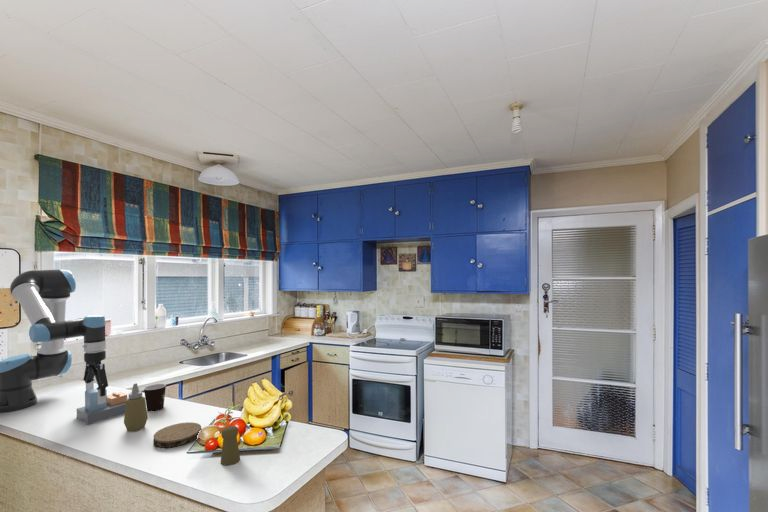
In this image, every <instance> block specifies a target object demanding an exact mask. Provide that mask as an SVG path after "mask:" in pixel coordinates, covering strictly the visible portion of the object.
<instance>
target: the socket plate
mask: <svg viewBox="0 0 768 512" xmlns="http://www.w3.org/2000/svg"><path fill="white" fill-rule="evenodd" d="M128 399H129V397H127V400H128ZM125 405H126V402H123V403H119V404H116V405H112V406H110V405H108V404H107V407H105V408H101V409H98V410H94V411H89V410H87V409H85V405H83V406H82V407H78V408H76V419H78V420H80V422H83V423H84V424H86V425H91V424H95V423H98V422H101V421H105V420H107V419H111V418H115V417H118V416H120V415H121V416H122V415H125Z"/></svg>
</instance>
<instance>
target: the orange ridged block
mask: <svg viewBox="0 0 768 512" xmlns="http://www.w3.org/2000/svg"><path fill="white" fill-rule="evenodd" d="M127 398H128V394H126V393H124V392H122V391H120V392H112V394H109V395H107V404H108V405H110V406H112V405H116V404H119V403H123V402H126V401H127Z"/></svg>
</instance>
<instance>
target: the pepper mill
mask: <svg viewBox="0 0 768 512" xmlns="http://www.w3.org/2000/svg"><path fill="white" fill-rule="evenodd" d="M220 435H221V438H222V447H221V453H220V454H221V456H220V465H221V466H224V467H225V466H232V465H233V466H234V465H235V464H237V463H239V462H240V460H241V455H240V449H239V443H238V435H239V428H238V427H237V426H235V425H228V426H225V427H223V429H222V430H221V433H220Z"/></svg>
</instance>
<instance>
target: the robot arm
mask: <svg viewBox="0 0 768 512" xmlns="http://www.w3.org/2000/svg"><path fill="white" fill-rule="evenodd" d="M75 278H76V277H75V276H74V274H73V273H72V271H70V270H68V269H59V268H58V269H38V270H34V269H33V270H27V271H24V272H22V273H21V274H18V275H17V276H16V277H14V279H13V280H12V282H11V284H10V286H9V287H10V288H9V291H10V295H11V297H12V298H13V299H14V300H15V301H18V303H19V304H20V306H21V308H22V310H23V312H24V313H25V315H26V318H27V319H28V321H29V322H30V324H31V326H30V327H29V330H28V336H29V339H30V341H31V342H32V343H35V344H36V343H41V344H40V345H41V346H40V348H38V349H37V350H36V355H32V354H31V353H24V354H17V355H14V356H13V355H12V356H10V357H6V358H4V359H2V360H0V413H3V412H5V413H6V412H13V411H16V410H22V409H26V408H28V407H32V406H33V405H35V404H37V403H38V397H37V395H36V393H35V390H34V388H33V381H36V380H37V381H38V380H41V379H45V378H50V377H51V378H52V377H57V376H60V375H64V374H66V373H68V371H69V370H70V368H71V366H72V363H73V358H72V352H71V351H70V350H68V348H67V347H66V346H65V345H64V343H65V342H64V341H65V339H66V340H67V339H72V338H79V337H83V345H82V348H83V352H84V353H83V359H84V362H85V369H84V375H83V381H84V383H85V391H88V390H92V389H95V387H94V386H95V385H94V384H95V380H96V384H97V386H98V387H96V388H97V389H98V405H99V404H103V403H106V390H107V387H109V383H108V378H107V377H108V376H107V372H106V365H105V363H102V361H103V360H106V358H107V356H106V354H107V353H106V352H107V351H106V348H107V346H106V345H107V344H106V341H107V340H106V318H105V315H102V314H93V315H92V314H91V315H87V316H84V317H82V318H77V319H71V320H66V310H67V309H66V304H67V302H66V301H67V300H68V299H70V297H71V294H72V293H73V292H75V291H76V289H77V285H76V279H75Z"/></svg>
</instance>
